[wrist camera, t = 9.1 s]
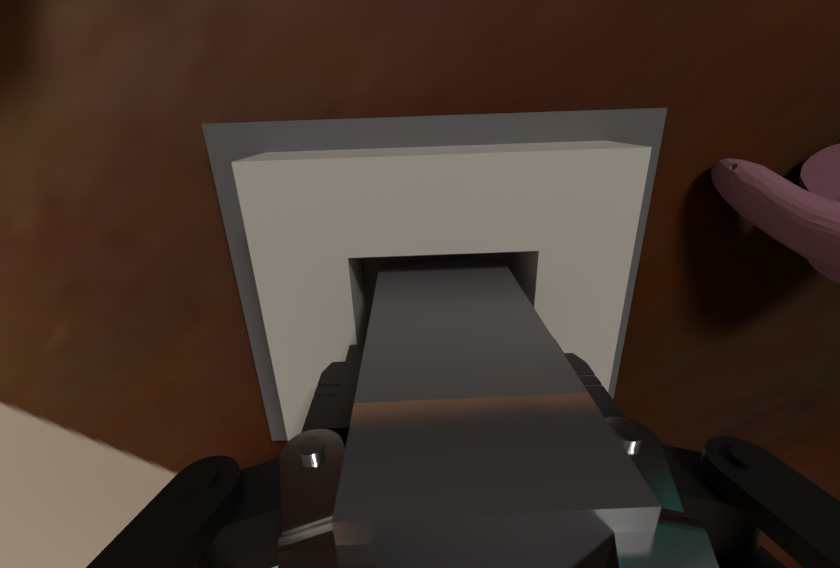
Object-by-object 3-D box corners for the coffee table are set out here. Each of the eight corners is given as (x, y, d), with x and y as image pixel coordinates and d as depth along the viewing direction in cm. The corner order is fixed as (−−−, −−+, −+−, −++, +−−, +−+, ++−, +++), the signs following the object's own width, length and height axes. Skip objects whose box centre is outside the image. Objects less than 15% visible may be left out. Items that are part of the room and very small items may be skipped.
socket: (651, 108, 15) (730, 106, 11) (599, 412, 20) (640, 478, 17) (214, 123, 15) (150, 126, 11) (278, 426, 20) (249, 495, 17)
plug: (502, 258, 15) (661, 506, 5) (497, 362, 16) (612, 684, 7) (380, 263, 15) (332, 521, 5) (387, 367, 16) (360, 697, 7)
